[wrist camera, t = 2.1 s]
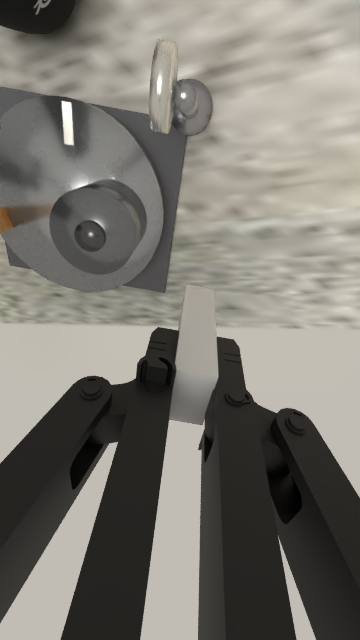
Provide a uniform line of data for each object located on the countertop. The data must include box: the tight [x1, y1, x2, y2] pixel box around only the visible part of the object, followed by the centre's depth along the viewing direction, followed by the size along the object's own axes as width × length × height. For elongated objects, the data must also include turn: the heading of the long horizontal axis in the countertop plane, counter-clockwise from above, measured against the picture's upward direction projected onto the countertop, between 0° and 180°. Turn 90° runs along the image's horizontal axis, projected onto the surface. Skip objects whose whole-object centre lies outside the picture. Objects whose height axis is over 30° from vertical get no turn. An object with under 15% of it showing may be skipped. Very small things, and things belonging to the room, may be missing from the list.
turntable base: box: [0, 87, 187, 292], centre depth 30 cm, size 20×18×2 cm
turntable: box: [0, 96, 164, 291], centre depth 26 cm, size 18×18×6 cm
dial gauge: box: [149, 39, 212, 135], centre depth 20 cm, size 4×4×12 cm
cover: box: [49, 179, 147, 275], centre depth 25 cm, size 7×7×7 cm
